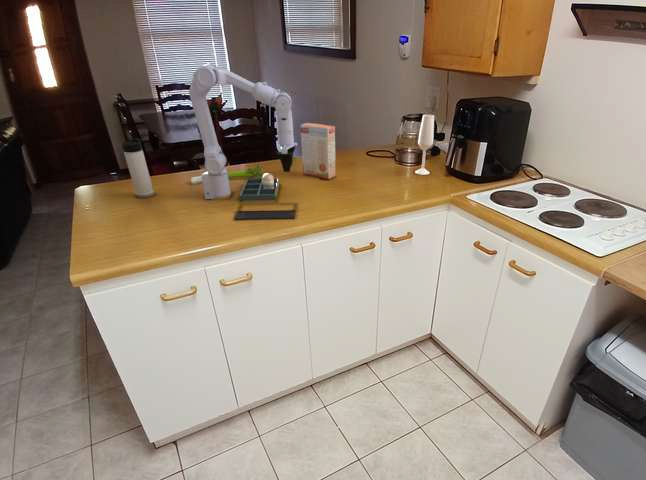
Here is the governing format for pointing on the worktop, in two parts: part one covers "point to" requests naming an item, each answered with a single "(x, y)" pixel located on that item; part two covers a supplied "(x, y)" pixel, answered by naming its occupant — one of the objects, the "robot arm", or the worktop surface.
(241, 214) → the mat
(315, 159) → the cracker box
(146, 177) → the travel mug
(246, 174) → the celery
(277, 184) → the teal compartment tray
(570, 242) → the worktop surface
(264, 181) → the egg
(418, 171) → the champagne flute
